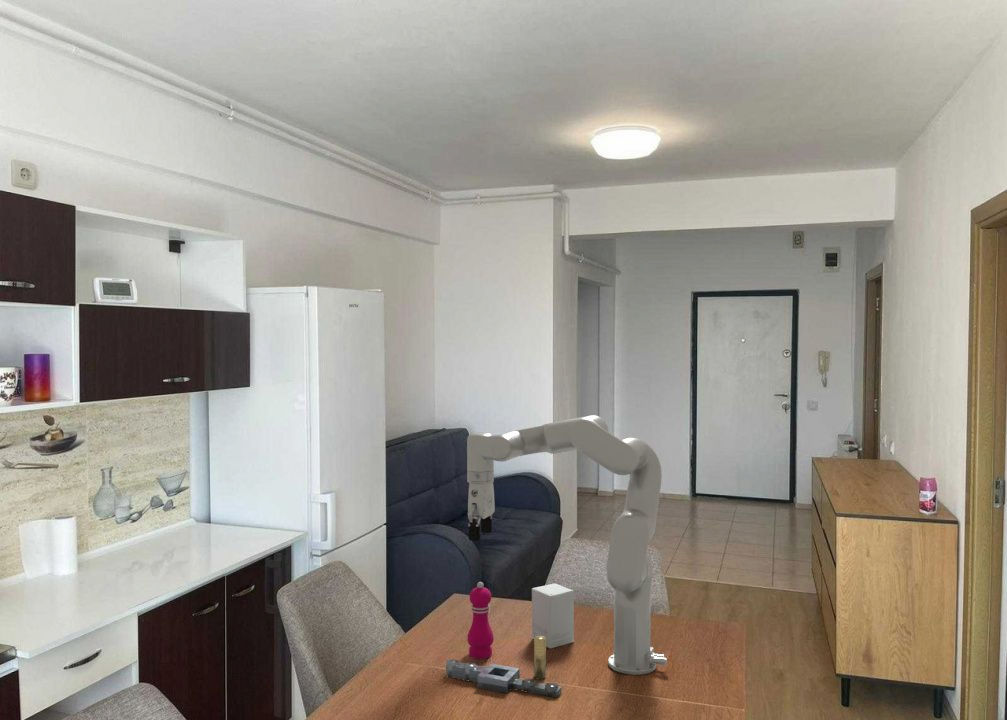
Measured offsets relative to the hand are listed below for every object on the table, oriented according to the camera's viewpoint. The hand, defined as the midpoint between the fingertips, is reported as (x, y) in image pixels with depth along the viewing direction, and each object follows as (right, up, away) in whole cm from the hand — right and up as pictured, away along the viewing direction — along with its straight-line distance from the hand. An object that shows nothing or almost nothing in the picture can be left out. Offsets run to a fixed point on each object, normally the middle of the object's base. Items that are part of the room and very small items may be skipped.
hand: (480, 536), depth 221 cm
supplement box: (+21, -31, +1) cm, 37 cm away
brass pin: (+16, -31, -23) cm, 41 cm away
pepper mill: (0, -31, -8) cm, 32 cm away
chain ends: (+5, -31, -27) cm, 41 cm away
